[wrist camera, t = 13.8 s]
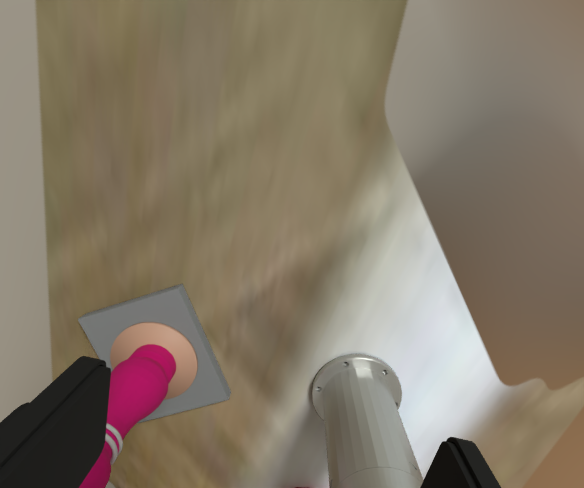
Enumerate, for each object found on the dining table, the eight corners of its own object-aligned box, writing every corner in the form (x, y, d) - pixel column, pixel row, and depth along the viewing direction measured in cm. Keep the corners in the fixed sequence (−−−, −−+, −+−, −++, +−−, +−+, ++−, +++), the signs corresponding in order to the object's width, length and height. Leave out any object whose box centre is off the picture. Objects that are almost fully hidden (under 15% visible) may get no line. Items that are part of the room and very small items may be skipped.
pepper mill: (148, 393, 45) (31, 570, 26) (117, 353, 44) (-32, 510, 24) (190, 373, 44) (100, 542, 25) (160, 331, 42) (39, 478, 23)
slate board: (231, 392, 47) (227, 402, 45) (140, 415, 49) (133, 427, 47) (182, 283, 43) (176, 290, 41) (85, 314, 45) (74, 321, 42)
